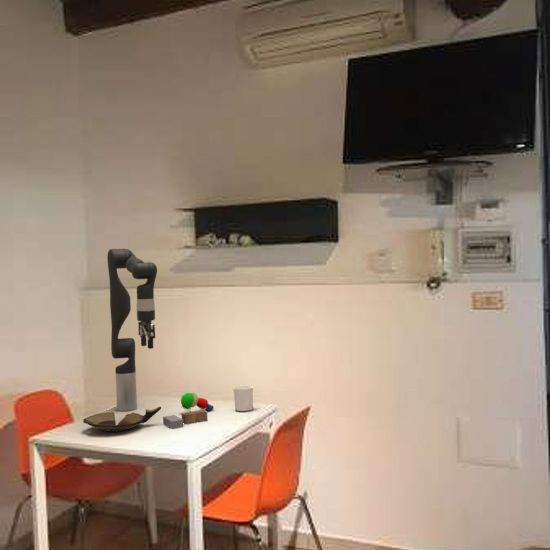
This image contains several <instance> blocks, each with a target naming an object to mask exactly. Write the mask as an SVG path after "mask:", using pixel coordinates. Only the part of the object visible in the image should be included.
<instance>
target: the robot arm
mask: <svg viewBox="0 0 550 550" xmlns="http://www.w3.org/2000/svg"><path fill="white" fill-rule="evenodd" d="M107 268H108V269H107V270H108V277H109V305H110V307H109V308H110V320H111V323H110V324H111V340H110V341H111V343H110V347H111V348H110V351H111V356H112V358H113V359H128V360H127V361H125V362H124V363H122V364H119V365H117V366H116V367H115V389H116V390H115V392H116V394H115V396H116V397H115V398H116V410H117V411H120V412H127V411H134V410H136V409H138V398H137V397H138V395H137V394H138V393H137V374H136V341H135V339H134V338H133V337H126V338H125V337H124V338H123V337H122V338H119V334H120V331H121V329H122V326H123V325H124V323H125V322H126V320H127V318H128V317H129V314H130V313H131V307H132V304H131V295H130V293H129V292H128V290H127V288H126V287H125V286H124V284H123V282H121V279H120V277H119V274H118V269H120V270H121V269H126V270H127V271H128V272H129V273H131V274H132V277H133V279H134V280H135V279H136V280H146V281H145V283H143V284H140V285H138V286H136V320H137V322H138V323H137V324H138V336H139V338H140V346H141V347H146V346H147V349H149V350H151V349H154V340H155V338H156V327H155V324H154V323H152V321H155V320H156V306H155V304H156V303H155V295H154V291H155V290H154V289H155V288H154V287H155V282H156V279H157V274H158V267H157V265H156V264H155V263H154V262H151V261H149V262H148V261H147V262H145V261H143V260H142V259H140V258H138V257H136V254H134V253H133V251H132V250H130V249H128V248H110V249H109V250H108V252H107Z"/></svg>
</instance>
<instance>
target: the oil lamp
mask: <svg viewBox="0 0 550 550" xmlns="http://www.w3.org/2000/svg"><path fill="white" fill-rule="evenodd" d="M161 409H162V407H161V406H157V407H156V408H154V409H148V408H146V409H145V414H143V415H142V414H141V413H137V412H131V413H127V414H126V415H124V417H123V418H122V419H121V420H120V421H119V422H118V423H116V422H117V421H116V415H115V413H114V412H113V411H111V412H109V411H107V412H100V413H96V414H93V415H89V416H87V417H85V418H83V421H82V423H83V424H87V425H88V426H90V427H93V428H95V429H98V430H103V431H106V432H121V431H125V430H129V429H133V428H134V427H136V426H137V425H140V424H146V423H147V422H148V421H149V420H150V419H152V417H154V416H155V414H158V412H160V411H161Z"/></svg>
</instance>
